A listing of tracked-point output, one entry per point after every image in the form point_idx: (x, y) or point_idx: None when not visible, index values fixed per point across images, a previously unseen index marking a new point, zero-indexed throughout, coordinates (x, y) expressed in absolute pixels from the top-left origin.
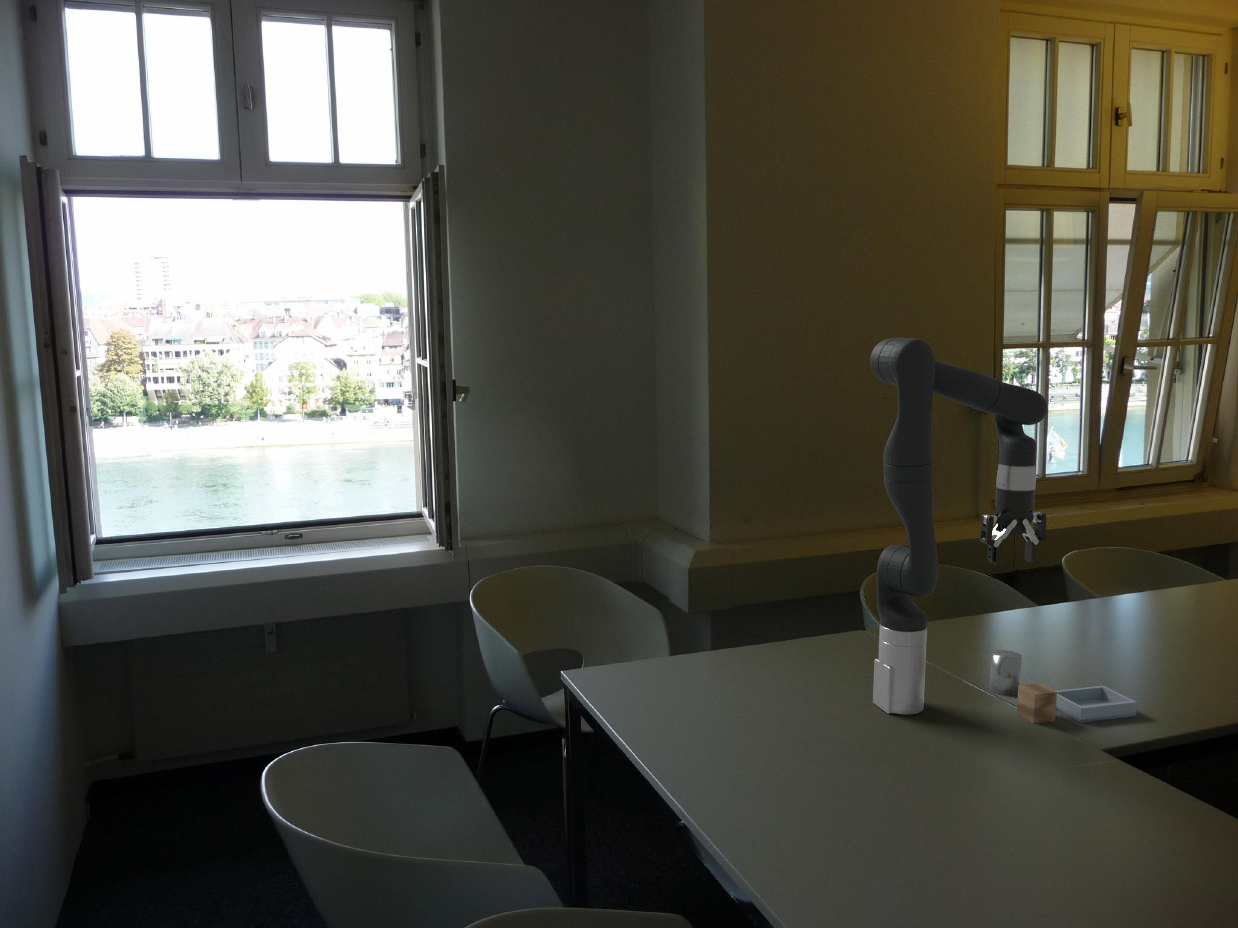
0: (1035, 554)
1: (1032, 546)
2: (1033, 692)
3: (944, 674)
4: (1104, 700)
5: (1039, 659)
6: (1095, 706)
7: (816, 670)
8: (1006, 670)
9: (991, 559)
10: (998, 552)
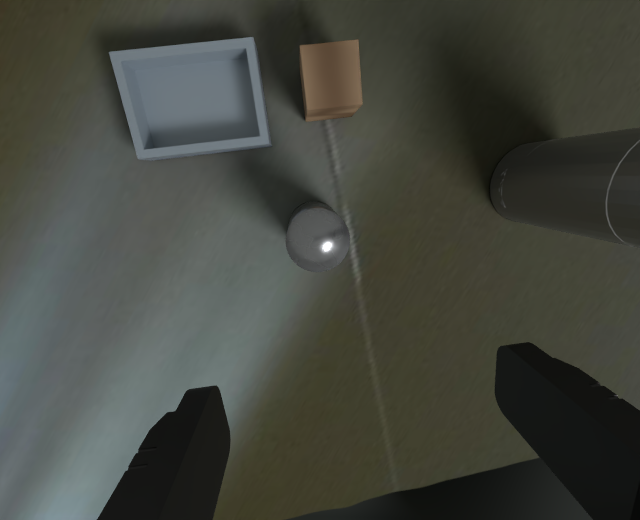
0: (145, 446)
1: (152, 517)
2: (354, 53)
3: (375, 311)
4: (155, 140)
5: (173, 362)
6: (216, 41)
7: (562, 346)
8: (330, 209)
9: (577, 369)
10: (585, 408)
